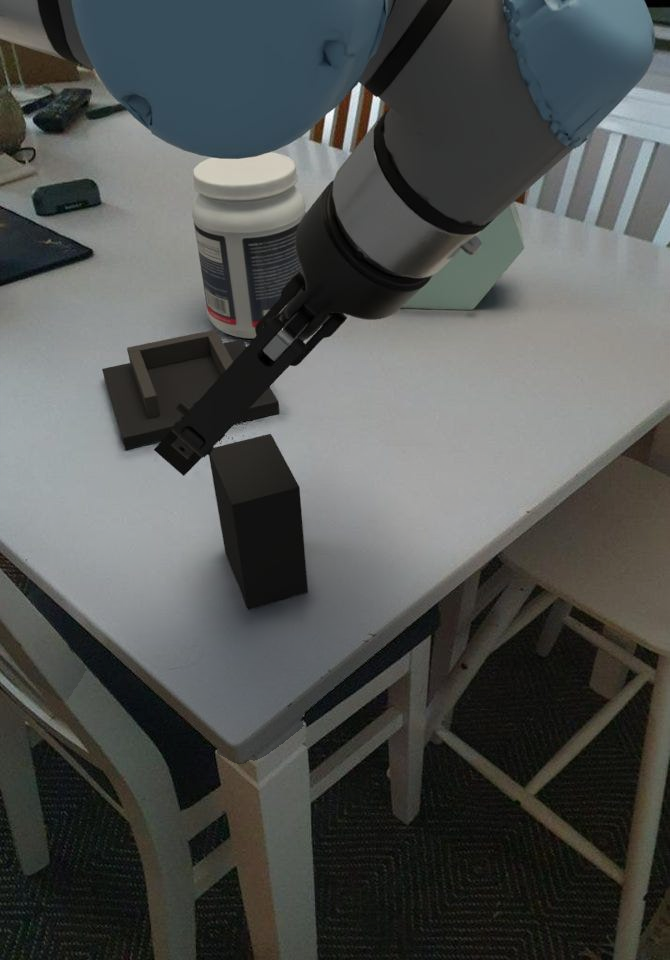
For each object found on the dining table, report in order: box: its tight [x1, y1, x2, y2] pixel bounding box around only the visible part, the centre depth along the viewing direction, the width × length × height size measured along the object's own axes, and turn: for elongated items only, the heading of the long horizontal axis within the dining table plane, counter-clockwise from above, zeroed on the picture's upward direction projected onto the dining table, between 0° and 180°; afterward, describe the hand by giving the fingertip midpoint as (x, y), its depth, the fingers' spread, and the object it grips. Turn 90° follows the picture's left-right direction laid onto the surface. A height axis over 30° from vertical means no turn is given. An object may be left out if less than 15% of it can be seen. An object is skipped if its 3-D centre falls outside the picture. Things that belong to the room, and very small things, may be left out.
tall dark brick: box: [208, 433, 309, 611], centre depth 63 cm, size 5×7×11 cm
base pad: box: [101, 329, 280, 450], centre depth 86 cm, size 16×14×4 cm
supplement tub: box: [191, 151, 307, 339], centre depth 94 cm, size 13×13×18 cm
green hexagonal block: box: [400, 201, 525, 311], centre depth 98 cm, size 17×8×21 cm, turn 81°
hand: (224, 401), depth 60 cm, fingers open, 13 cm apart
